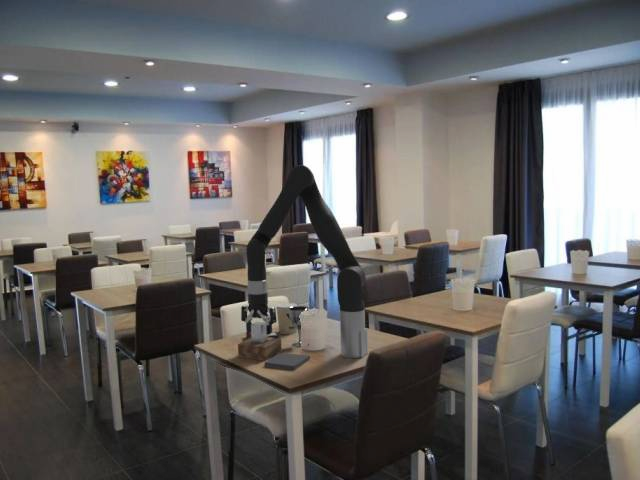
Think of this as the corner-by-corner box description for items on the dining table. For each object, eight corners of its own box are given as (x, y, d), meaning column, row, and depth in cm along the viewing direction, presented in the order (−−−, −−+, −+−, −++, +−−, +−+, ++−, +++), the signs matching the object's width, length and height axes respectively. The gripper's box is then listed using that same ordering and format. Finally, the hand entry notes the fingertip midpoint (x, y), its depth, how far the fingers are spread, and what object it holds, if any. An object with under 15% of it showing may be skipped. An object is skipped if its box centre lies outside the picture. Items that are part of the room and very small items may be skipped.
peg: (268, 353, 206) (266, 322, 205) (262, 356, 202) (261, 325, 201) (258, 351, 208) (257, 321, 207) (252, 355, 204) (251, 324, 203)
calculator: (270, 326, 233) (278, 333, 219) (271, 336, 233) (278, 344, 219) (245, 329, 230) (251, 336, 216) (246, 339, 230) (252, 347, 216)
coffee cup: (290, 335, 230) (289, 308, 229) (273, 333, 235) (272, 306, 234) (302, 330, 238) (301, 303, 236) (285, 328, 243) (284, 302, 242)
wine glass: (300, 340, 222) (299, 305, 220) (314, 344, 216) (312, 307, 214) (286, 345, 216) (284, 308, 215) (299, 348, 210) (298, 311, 209)
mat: (309, 359, 196) (309, 355, 196) (294, 370, 186) (294, 366, 185) (280, 356, 201) (280, 352, 201) (264, 366, 191) (264, 362, 190)
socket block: (281, 351, 208) (281, 338, 208) (265, 360, 197) (265, 347, 197) (255, 348, 213) (254, 335, 213) (238, 357, 202) (237, 344, 202)
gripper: (278, 290, 203) (280, 332, 205) (247, 288, 209) (248, 329, 211) (268, 294, 197) (270, 337, 198) (236, 292, 203) (238, 334, 204)
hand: (259, 333), depth 205 cm, fingers open, 8 cm apart
